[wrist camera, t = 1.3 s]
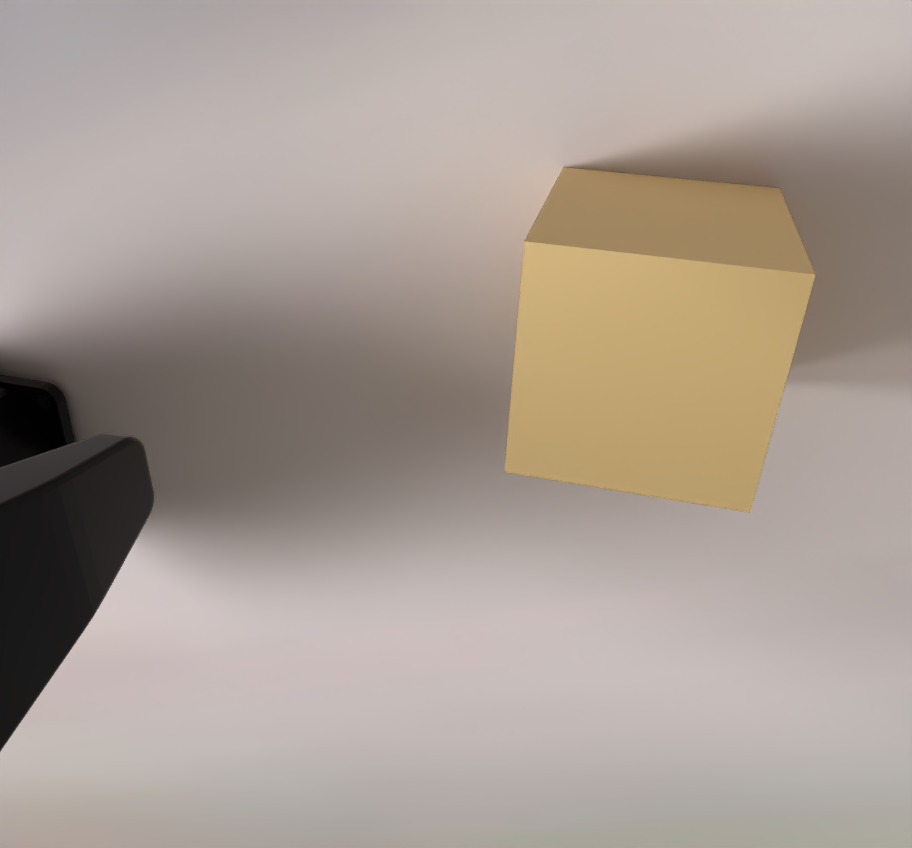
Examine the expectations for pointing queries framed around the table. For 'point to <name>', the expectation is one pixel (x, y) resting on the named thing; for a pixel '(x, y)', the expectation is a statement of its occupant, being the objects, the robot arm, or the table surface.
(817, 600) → the table surface
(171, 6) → the table surface
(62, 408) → the robot arm
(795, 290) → the ochre block
